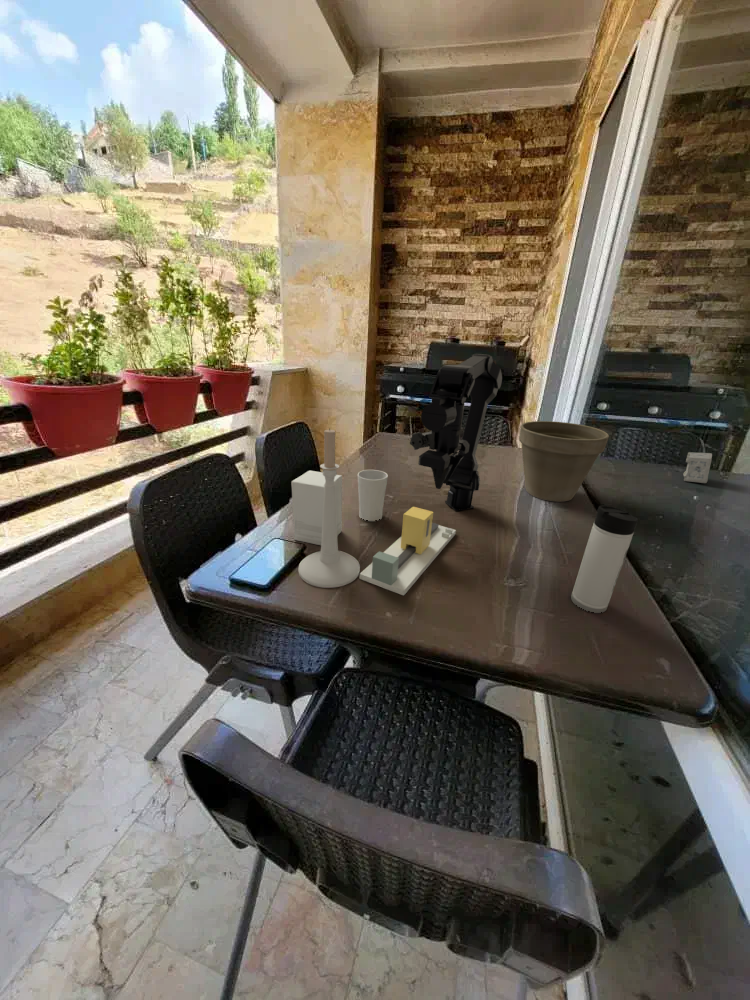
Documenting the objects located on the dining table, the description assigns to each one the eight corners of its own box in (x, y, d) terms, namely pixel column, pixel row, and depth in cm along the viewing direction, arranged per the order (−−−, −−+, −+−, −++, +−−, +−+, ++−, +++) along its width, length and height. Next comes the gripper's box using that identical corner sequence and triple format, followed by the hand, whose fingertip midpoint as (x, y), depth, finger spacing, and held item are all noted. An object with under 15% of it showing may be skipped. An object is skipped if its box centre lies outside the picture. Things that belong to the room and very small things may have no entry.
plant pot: (505, 499, 122) (518, 431, 113) (511, 475, 143) (522, 416, 134) (593, 515, 114) (615, 443, 105) (585, 488, 135) (603, 426, 126)
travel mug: (562, 593, 78) (589, 502, 70) (593, 592, 78) (623, 502, 70) (580, 614, 72) (611, 517, 64) (613, 613, 73) (648, 517, 65)
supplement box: (342, 531, 97) (343, 474, 91) (327, 547, 90) (327, 487, 84) (310, 524, 100) (309, 469, 94) (292, 539, 92) (290, 480, 86)
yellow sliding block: (409, 538, 92) (412, 506, 89) (429, 545, 90) (433, 512, 87) (400, 547, 88) (403, 514, 85) (420, 554, 86) (424, 520, 83)
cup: (382, 524, 102) (384, 481, 97) (352, 520, 103) (354, 477, 98) (387, 511, 109) (390, 471, 104) (359, 508, 110) (361, 468, 106)
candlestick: (335, 595, 74) (336, 441, 62) (285, 573, 80) (277, 428, 68) (371, 565, 84) (378, 428, 72) (324, 547, 90) (324, 417, 78)
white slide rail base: (419, 523, 103) (421, 502, 101) (455, 534, 99) (458, 512, 96) (359, 578, 79) (360, 552, 76) (403, 595, 75) (406, 568, 72)
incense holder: (679, 474, 155) (689, 449, 151) (705, 479, 150) (716, 454, 146) (677, 480, 148) (688, 454, 143) (705, 486, 143) (716, 459, 139)
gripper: (432, 412, 101) (426, 469, 107) (400, 424, 86) (395, 490, 92) (474, 418, 96) (465, 478, 102) (447, 432, 81) (439, 501, 87)
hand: (441, 485), depth 96 cm, fingers open, 4 cm apart
